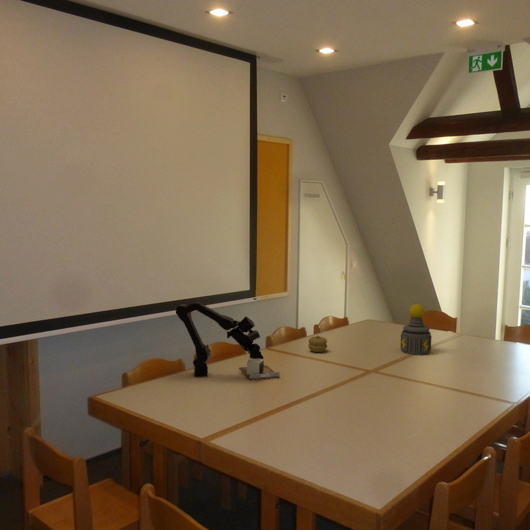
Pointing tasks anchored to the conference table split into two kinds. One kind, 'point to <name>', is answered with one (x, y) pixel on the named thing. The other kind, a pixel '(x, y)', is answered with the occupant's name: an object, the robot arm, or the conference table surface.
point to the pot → (317, 344)
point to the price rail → (264, 375)
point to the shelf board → (266, 370)
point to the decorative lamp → (416, 334)
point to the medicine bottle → (255, 365)
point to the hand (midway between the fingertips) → (260, 356)
